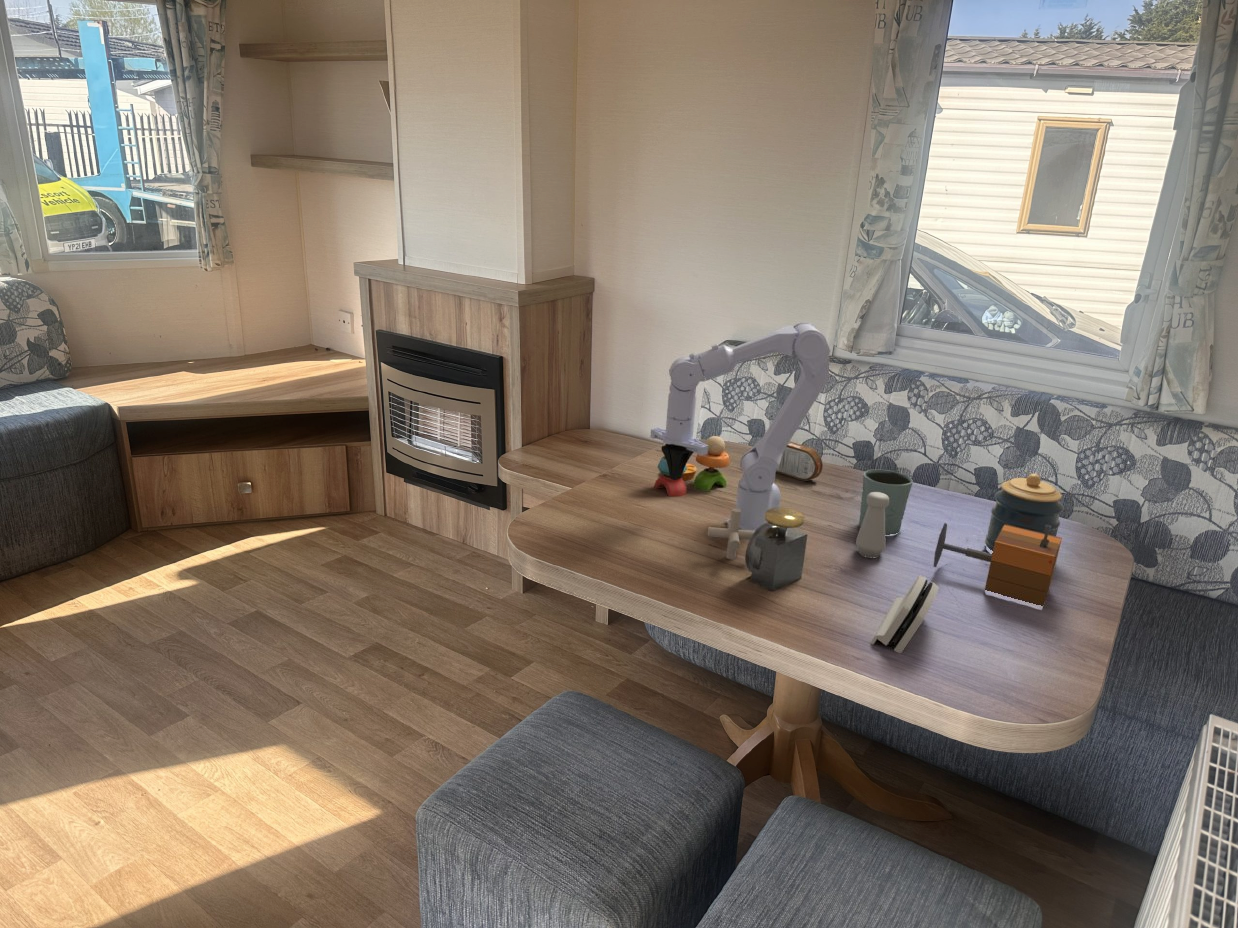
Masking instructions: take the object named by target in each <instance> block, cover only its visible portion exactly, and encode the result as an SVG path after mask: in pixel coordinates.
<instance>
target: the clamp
mask: <svg viewBox="0 0 1238 928" xmlns="http://www.w3.org/2000/svg"><path fill="white" fill-rule="evenodd" d="M947 530H948V523H946V522H944V523H943V526H942V528H941V531H940V532H939V535H938V536H939V537H938V540H937V543H936V547H935V552H934V558H933V559H934V560H933V567H934V568H937V567H938V564H939V562H940V559H941V557H942V553H943V550H947V551H951V552H954V553H958V554H962V555H965V556H966V557H969V558H972V559H976V560H980V561H984V562H989V568H988V573H987V577H986V582H985V586H984V590H987V591H991V592H994V593H998V594H1001V595H1003V596H1007V597H1011V598H1014V599H1018V600H1022V601H1025V602H1029V603H1033V604H1036V605H1041V606H1043V605H1044V606H1045V604H1046V601H1045V600H1047V598H1048V595H1047V594H1049V592H1048V591H1050V589H1051V588H1050V587H1051V585H1052V581H1053V580H1052V579H1053V575H1054V571H1055V568H1056V564H1057V559H1058V556H1059V551H1060V547H1061V545H1062V539H1063V538H1062V537H1060V536H1057V535H1056V536H1052V535H1048V533H1049V532H1050V530H1051V526H1050V525H1045V534H1044V533H1040V532H1035V531H1031V530H1027V529H1023V528H1019V527H1014V526H1010V525H1006V524H1005V525H1004V526H1003V528H1002V530H1001V532H1000V534H999V535H998V537H997V539H996V541H995V545H994V549H993V553H992V554H990V553H988V552H985V551H981V550H976V549H973V548H969V547H967V548H965V547H962V546H961V547H960V546H957V545H953V544H949V543H945V542H946V538H947V537H946V536H947ZM1049 588H1050V589H1049ZM1046 597H1047V598H1046ZM1044 606H1043V607H1044Z"/></svg>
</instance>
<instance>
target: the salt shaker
mask: <svg viewBox="0 0 1238 928" xmlns="http://www.w3.org/2000/svg"><path fill="white" fill-rule="evenodd" d="M866 501H867V504H868V505H869V506H868V508H867V511H866V514H865V517H864V520H863V522H862V525H861V528H860V527H859V531H858V534H857V537H856V540H855V541H856V542H855V543H856V547H857V551H859V552H858V554H859V555H860V554H861V555H863V556H862V557H864V556H866V557H865V558H867V557H869V558H868V559H874V558H873V557H878V558H879V556H880V555H881V554H882V552H883V551H884V550H885V549H886V547H887V546H886V544H887V542H886V537H885V508H886V507H888V505H889V497H888V496H887V495H886V494H884V493H880V492H871V493H870V494H868V496H867V500H866ZM861 555H860V556H861ZM870 557H872V558H870Z"/></svg>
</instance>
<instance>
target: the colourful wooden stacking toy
mask: <svg viewBox="0 0 1238 928" xmlns="http://www.w3.org/2000/svg"><path fill="white" fill-rule="evenodd" d="M704 444H706V445H708V453H707V454H706V455H703V456H700V455H698V453H696V457H695V461H696V462H697V464H699V465H701V466H704V467H706V468H703V469H702V470H701V471H699V473H698V474H697V475H696V472H697V470H698V469H697V467H696V466H695V465H693V464H691V463H688V462H687V463H686V466H685V468H684V471H683V473H682V476H681V479H678V480H672V479H670V475H669V469H668V465H667V461H666V458H665V456H664V455H663V456H662V457H660V461H659V462H658V464H657V466H656V467H657V470H658V471H659V472H661V473H662V474H663V475H661V476H659V477H658V478H657V479H656V480H655V482H654V485H653V489H655V490H656V489H662V488H666V492H667V496H669V497H671V498H677V497H682V496H685V495H687V493H688V492H687V489H688V488H687V485H686V482H685V481H689V480H692V479H694V481H693V484H692V485H693V487H694V488H696V489H697V490H701V491H706V492H709V491H711V489H712V487H713V485H714V484H717V485H719V486H721V487H723V488H726V487H727V480H726V478H725V475H724V474H722V472H720V470H718V469H724V468H727V467H729V466H730V463H731V462H730V461H731V460H730V456H729V454H728V453H727V452H725V448H726V443H725V441H724V440H723V438H722V437H720V436H716V435H711V436H710V437H708V438H707V439H706V441H705V442H704ZM663 446H665V444H664V445H663ZM695 475H696V476H695ZM694 477H695V478H694Z"/></svg>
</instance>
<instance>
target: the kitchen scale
mask: <svg viewBox="0 0 1238 928" xmlns="http://www.w3.org/2000/svg"><path fill="white" fill-rule="evenodd" d="M765 520H766V521H767V522H768V523H765V524H763V525H761V526H760V527H759V528H758V529H757V530H756V531H755V532H754V534H753V535H752V537H751V539H750V540H748V543H747V547H746V549H745V556H744V558H745V559H744V560H745V562H744V563H745V565H746V568H747V571H749V572H751V575H750V582H752V583H754V584H756V585H757V586H760V587H762V588H764V589H766V590H768V591H770V592H774V591H775V590H778V589H781V588H782V587H785V586H787V585H789V584H791V583H794V582H796V581H798V580H800V579H802V577H803V576H802V575H803V570H804V563H805V562H804V561H805V554H806V549H807V548H806V547H807V540H808V533H806V532H804V531H802V530H799V529H797V528H799V527H802V526H803V525H804V522H805V521H804V520H805V515H803V514H802V513H801V512H800V511H797V510H795V509H790V508H783V507H779V508H772V509H768V510H767V511H766V512H765Z"/></svg>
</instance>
